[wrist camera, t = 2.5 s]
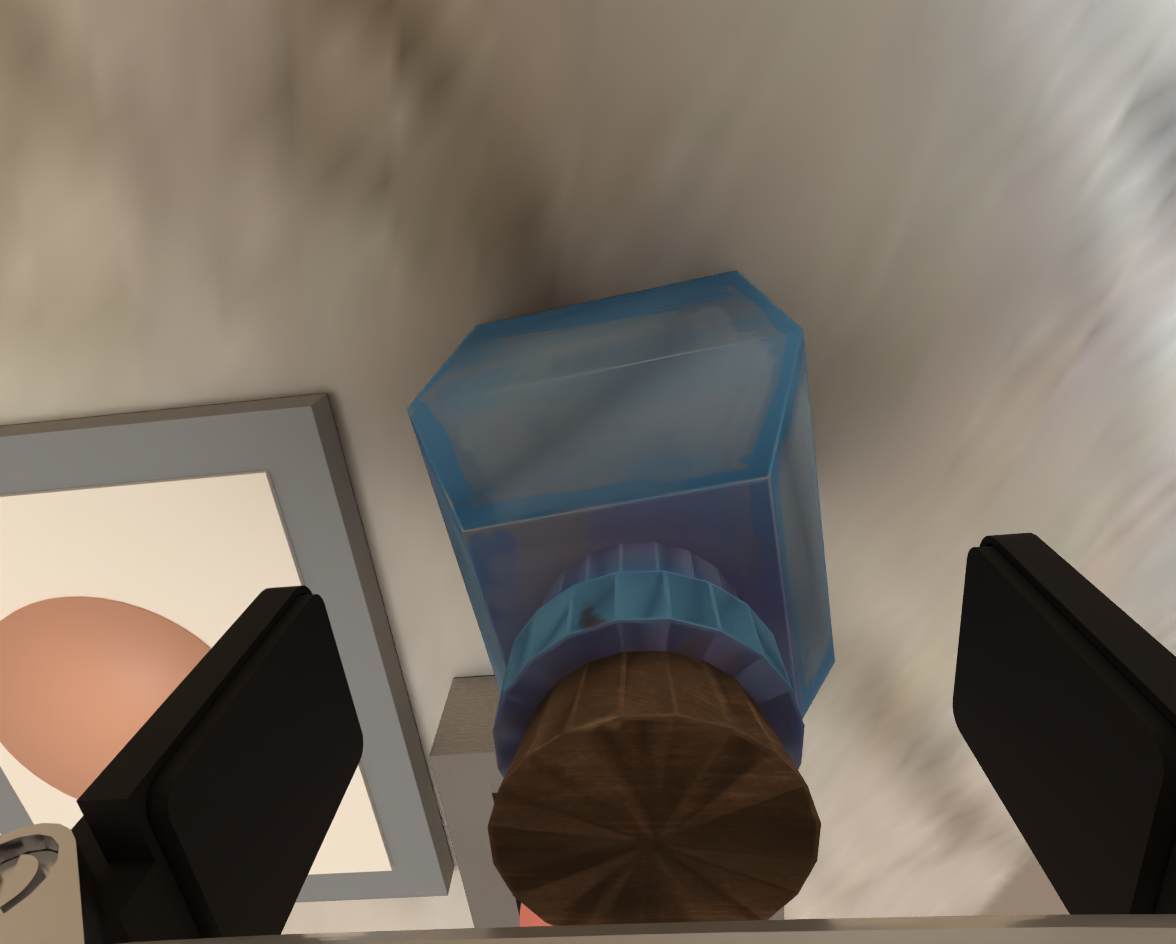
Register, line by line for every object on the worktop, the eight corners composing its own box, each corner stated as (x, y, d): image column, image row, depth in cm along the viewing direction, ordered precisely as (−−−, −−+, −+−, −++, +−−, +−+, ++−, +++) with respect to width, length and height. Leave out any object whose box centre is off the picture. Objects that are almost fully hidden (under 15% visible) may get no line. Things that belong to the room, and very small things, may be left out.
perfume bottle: (538, 548, 19) (437, 1059, 8) (476, 325, 17) (220, 629, 6) (767, 509, 19) (989, 1010, 8) (737, 270, 16) (993, 500, 5)
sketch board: (-187, 445, 19) (-241, 463, 18) (326, 393, 18) (306, 409, 17) (70, 886, 25) (44, 920, 24) (453, 868, 24) (446, 902, 23)
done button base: (453, 678, 21) (429, 755, 18) (760, 657, 20) (783, 734, 18) (501, 885, 25) (487, 976, 22) (764, 873, 24) (784, 965, 21)
